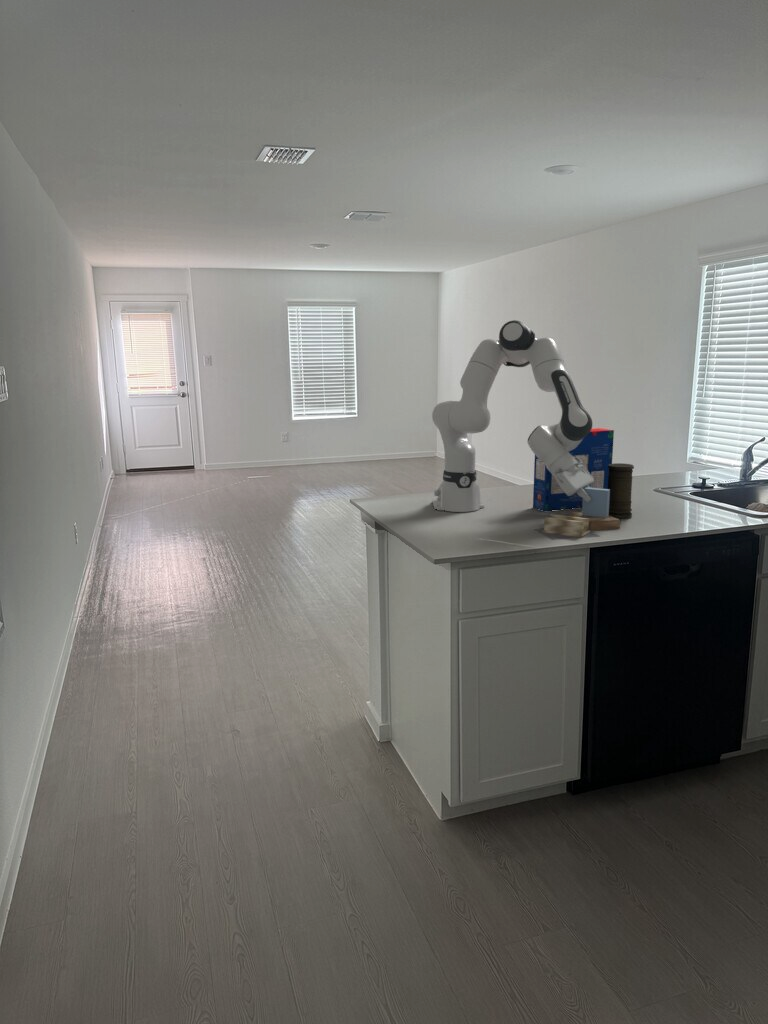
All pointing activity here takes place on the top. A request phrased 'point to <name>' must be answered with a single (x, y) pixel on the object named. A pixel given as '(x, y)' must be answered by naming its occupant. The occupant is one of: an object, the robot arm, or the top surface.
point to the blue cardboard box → (594, 458)
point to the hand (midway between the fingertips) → (591, 499)
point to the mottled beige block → (566, 525)
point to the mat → (558, 536)
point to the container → (620, 490)
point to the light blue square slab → (596, 503)
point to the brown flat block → (599, 521)
